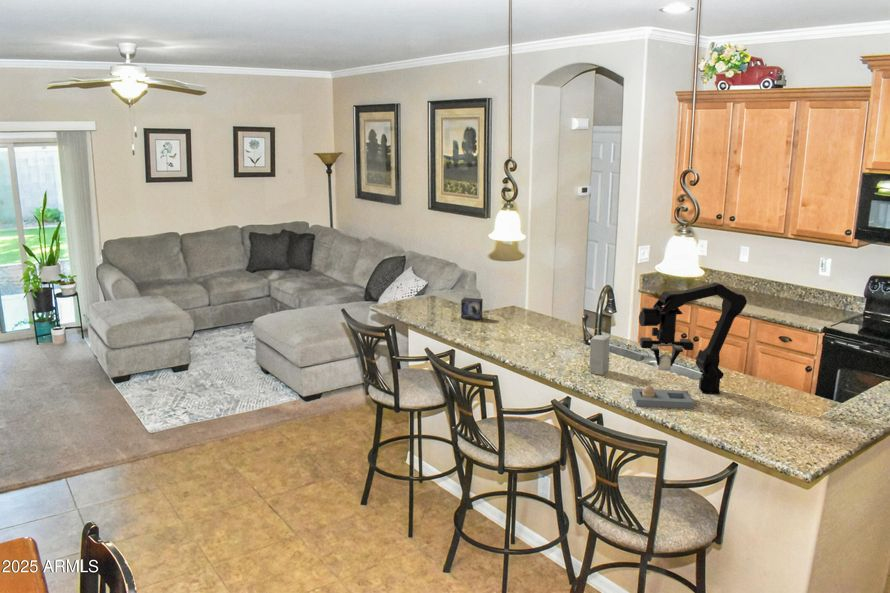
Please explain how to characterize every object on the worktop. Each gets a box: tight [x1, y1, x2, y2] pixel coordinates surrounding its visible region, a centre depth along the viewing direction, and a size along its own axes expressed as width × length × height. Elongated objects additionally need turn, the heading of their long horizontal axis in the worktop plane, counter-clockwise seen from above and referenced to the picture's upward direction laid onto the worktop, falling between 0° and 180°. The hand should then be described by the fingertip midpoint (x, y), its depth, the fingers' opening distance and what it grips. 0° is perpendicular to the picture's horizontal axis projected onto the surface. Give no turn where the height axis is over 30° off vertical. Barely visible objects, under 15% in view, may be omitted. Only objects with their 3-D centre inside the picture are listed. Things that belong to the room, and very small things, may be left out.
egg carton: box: [631, 385, 695, 410], centre depth 256 cm, size 20×12×6 cm, turn 83°
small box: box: [460, 297, 483, 321], centre depth 376 cm, size 11×6×10 cm, turn 73°
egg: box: [657, 353, 672, 372], centre depth 263 cm, size 4×4×6 cm
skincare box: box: [588, 334, 611, 376], centre depth 288 cm, size 8×6×15 cm
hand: (664, 365), depth 264 cm, fingers closed on egg, 4 cm apart
